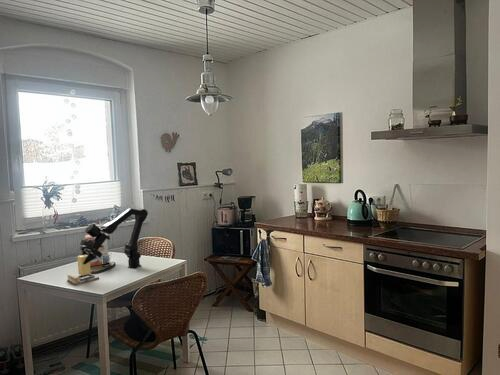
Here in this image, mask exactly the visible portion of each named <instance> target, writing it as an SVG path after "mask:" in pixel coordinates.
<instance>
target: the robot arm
mask: <svg viewBox="0 0 500 375" xmlns="http://www.w3.org/2000/svg"><path fill="white" fill-rule="evenodd" d="M148 214H149V213H148V210H147V209H146V208H138V209H135V208H132V207H131V208H130V207H129V208H126V209H125V211H123V212H121V214H119V215H118V216H117V217H115V218H114V219H113V220H112V221H108V222H106V223H104V224H103V225H102V226H99V227H98V226H97V225H96V224H95V223H91V224H90V225H89V226H87V227H86V228H85V233H86V235H90V236H91V237H96V238H95V239H94V240H87V241H85V240H84V239H81V240H80V244H79V245H80V247H79V250H80V251H81V255H85V254H86V255H88V256H87V257H86V259H85V261H84V262H83V264H84V265H85V264H86V263H88V262H90V261H92V260H93V259H95V258H97V257H99V258H100V257H101V256H102V253H101V252H100V251H98V249H99V248H100V247H102V244H103V243H104V241H105V240H106V239H107V241H108V240H109V241H110V239H111V237H110V235H112V234H113V233H114V232H115V231H116V230H117V228H118V227H119V226H120V225H121V224H122V223H123V222H124V221H126V220H127V219H128V218H130V217H131V216H132V215H133V216H134V225H133V229H132V232H131V236H130V239H129V243H128V244H127V243H126V244H125V245H124V249H123V251H124V252H123V253H124V254H125V255H126V256H127V258H128V260H127V261H128V266H127V268H129V269H138V268H140V267H141V266H142V264H141V263H140V258H141V257H142V254H141V253H140V252H139V251H138V249H139V247H138V240H139V238H140V234H141V230H142V228H143V223H144V222H146V219H147V217H148ZM106 233H107V235H106ZM96 256H97V257H96Z"/></svg>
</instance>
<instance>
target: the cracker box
mask: <svg viewBox="0 0 500 375" xmlns="http://www.w3.org/2000/svg"><path fill="white" fill-rule="evenodd" d="M105 234H106V235H108V234H107V233H105ZM95 238H96V237H91V236H90V235H89V234H86V235H85V236H84V239H85V241H87V240H94V239H95ZM108 247H109V246H108V239H106V240H105V241H104V243H103V244H102V247H100V248H99V249H98V251H100V252H101V253H102V256H101V257H100V258H99V257H97V256H96V257H97V258H95V259H93V260H92V261H90V267H93V266H102V265H101V264H102V257H103V256H108V257H109V248H108Z"/></svg>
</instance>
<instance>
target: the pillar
mask: <svg viewBox="0 0 500 375" xmlns="http://www.w3.org/2000/svg"><path fill="white" fill-rule="evenodd" d="M87 256H88V255H86V254H85V255H82V254H81V255H77V267H78V268H77V270H78V271H77V272H78V275H79V276H80V275H82V276H83V275H87V274H92V273H91V270H92V269H91V266H90V262H88V263H86V264H85V265H84V264H83V262H84V261H85V259H86V257H87Z"/></svg>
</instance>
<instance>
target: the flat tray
mask: <svg viewBox="0 0 500 375" xmlns="http://www.w3.org/2000/svg"><path fill="white" fill-rule="evenodd" d="M97 280H100V277H99V276H96V275H94V274H93V273H90V274H87V275H83V276H82V275H80V274H79V275H75V274H73V273H70V274H67V280H66V282H68V283H70V284H72V285H74V286H78V285H81V284H85V283H90V282H94V281H97Z"/></svg>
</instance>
